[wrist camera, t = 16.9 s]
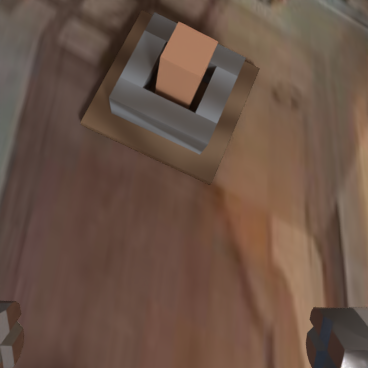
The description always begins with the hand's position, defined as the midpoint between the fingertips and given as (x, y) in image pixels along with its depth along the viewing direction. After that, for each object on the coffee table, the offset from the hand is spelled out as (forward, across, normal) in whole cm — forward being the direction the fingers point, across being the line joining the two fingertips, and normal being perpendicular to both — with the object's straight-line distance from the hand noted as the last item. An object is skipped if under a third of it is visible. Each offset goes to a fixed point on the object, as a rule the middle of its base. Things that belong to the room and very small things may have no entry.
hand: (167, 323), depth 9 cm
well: (+32, 0, -5) cm, 33 cm away
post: (+31, 0, -6) cm, 32 cm away
